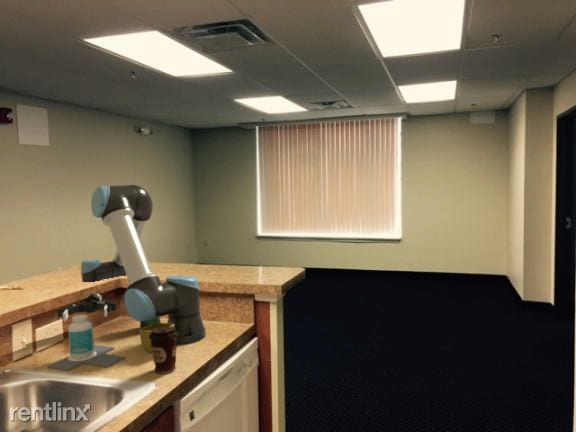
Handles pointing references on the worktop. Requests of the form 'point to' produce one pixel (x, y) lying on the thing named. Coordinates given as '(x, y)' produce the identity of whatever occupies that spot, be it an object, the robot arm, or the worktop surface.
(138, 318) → the robot arm
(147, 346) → the flower pot
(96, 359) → the t mat
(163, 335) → the coffee cup
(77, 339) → the pill bottle
